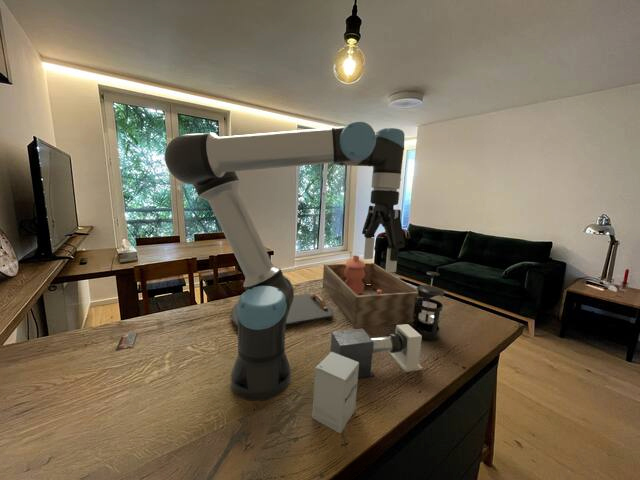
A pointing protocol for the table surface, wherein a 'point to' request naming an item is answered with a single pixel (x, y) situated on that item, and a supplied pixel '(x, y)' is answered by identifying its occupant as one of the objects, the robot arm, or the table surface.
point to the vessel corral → (371, 297)
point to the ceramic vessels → (356, 275)
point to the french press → (427, 319)
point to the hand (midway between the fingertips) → (378, 264)
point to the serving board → (301, 309)
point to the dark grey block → (354, 349)
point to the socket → (408, 349)
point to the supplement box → (335, 391)
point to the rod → (390, 343)
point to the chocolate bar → (127, 341)
